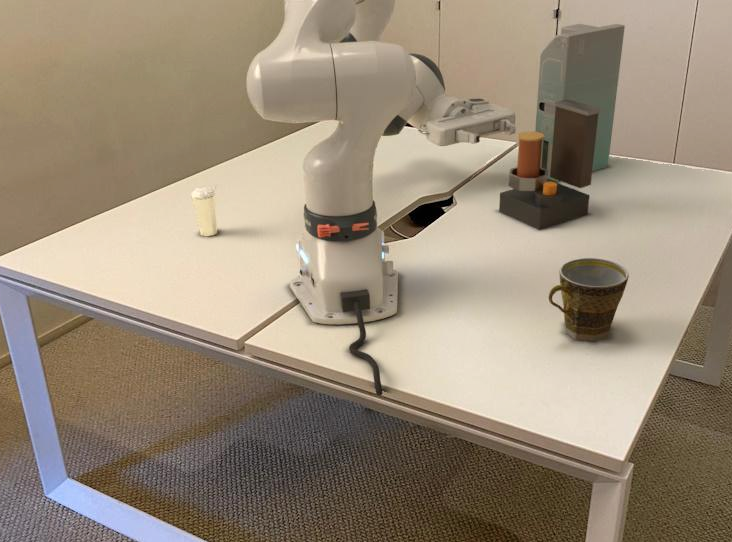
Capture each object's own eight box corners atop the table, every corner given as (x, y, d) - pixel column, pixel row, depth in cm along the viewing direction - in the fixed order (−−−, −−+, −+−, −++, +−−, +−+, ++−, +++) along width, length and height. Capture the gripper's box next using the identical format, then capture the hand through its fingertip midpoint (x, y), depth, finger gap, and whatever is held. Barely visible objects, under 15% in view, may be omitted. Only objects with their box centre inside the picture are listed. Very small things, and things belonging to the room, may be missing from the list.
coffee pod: (543, 186, 165) (547, 137, 160) (519, 188, 165) (522, 140, 159) (535, 178, 169) (539, 130, 164) (511, 180, 169) (514, 132, 163)
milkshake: (219, 238, 164) (212, 189, 159) (193, 237, 165) (185, 187, 160) (227, 229, 168) (220, 180, 162) (202, 228, 169) (194, 179, 163)
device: (583, 158, 198) (598, 20, 181) (608, 166, 192) (625, 25, 176) (531, 172, 190) (541, 30, 174) (555, 181, 185) (568, 36, 168)
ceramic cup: (591, 310, 135) (598, 252, 130) (634, 336, 128) (643, 276, 122) (525, 330, 130) (529, 271, 125) (566, 359, 123) (572, 298, 117)
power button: (539, 193, 164) (540, 183, 162) (549, 190, 165) (550, 180, 164) (549, 197, 162) (549, 187, 161) (559, 194, 163) (559, 184, 162)
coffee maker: (501, 183, 168) (505, 107, 160) (550, 169, 174) (556, 96, 166) (542, 200, 160) (548, 121, 151) (591, 185, 166) (600, 108, 157)
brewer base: (499, 211, 172) (500, 182, 168) (546, 197, 177) (548, 169, 174) (541, 230, 163) (543, 200, 159) (589, 215, 168) (593, 186, 165)
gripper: (413, 113, 174) (454, 128, 164) (490, 96, 183) (533, 110, 173) (414, 144, 177) (454, 160, 167) (489, 126, 186) (531, 140, 177)
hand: (495, 134), depth 170 cm, fingers open, 8 cm apart
